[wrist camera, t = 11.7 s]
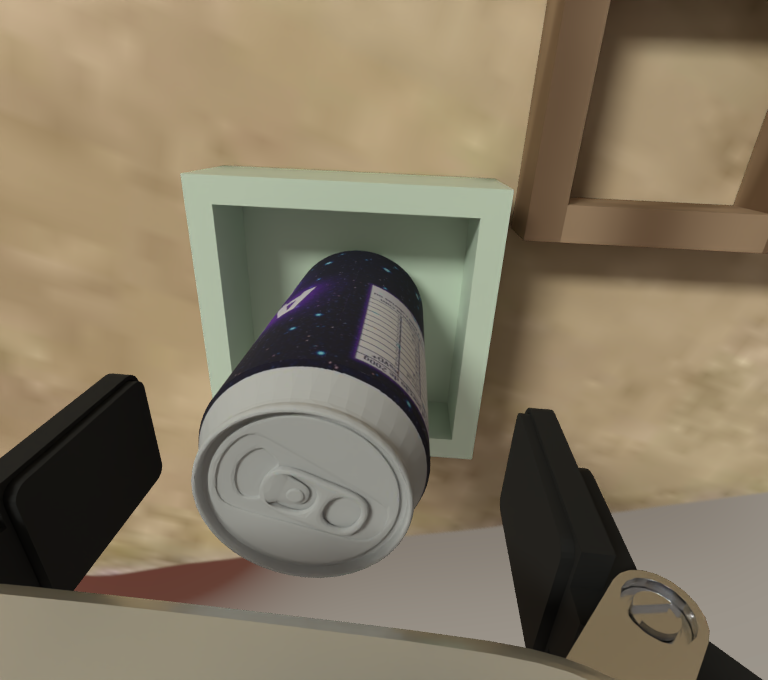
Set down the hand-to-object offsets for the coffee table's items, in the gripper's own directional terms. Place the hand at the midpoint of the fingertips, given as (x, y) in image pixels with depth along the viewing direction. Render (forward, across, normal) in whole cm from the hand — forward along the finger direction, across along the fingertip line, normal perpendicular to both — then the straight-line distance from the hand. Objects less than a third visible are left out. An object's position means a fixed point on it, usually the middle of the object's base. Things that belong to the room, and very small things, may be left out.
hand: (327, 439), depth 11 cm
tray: (+11, +1, +1) cm, 11 cm away
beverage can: (+10, +1, 0) cm, 10 cm away
